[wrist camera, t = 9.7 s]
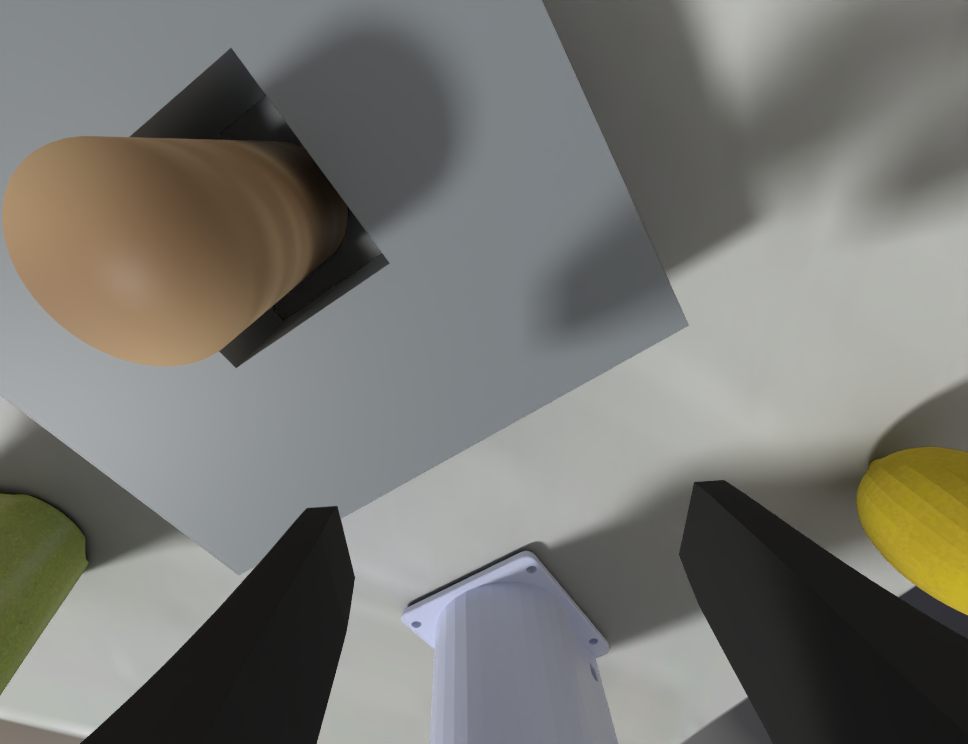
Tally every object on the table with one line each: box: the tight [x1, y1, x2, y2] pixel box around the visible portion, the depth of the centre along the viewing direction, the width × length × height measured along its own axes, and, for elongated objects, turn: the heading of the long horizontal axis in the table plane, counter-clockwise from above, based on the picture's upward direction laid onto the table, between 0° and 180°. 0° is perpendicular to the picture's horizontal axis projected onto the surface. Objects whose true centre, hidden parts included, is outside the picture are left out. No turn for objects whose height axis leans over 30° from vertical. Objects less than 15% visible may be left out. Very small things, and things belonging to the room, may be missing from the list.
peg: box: [2, 136, 348, 366], centre depth 12 cm, size 4×4×8 cm
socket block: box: [0, 0, 689, 575], centre depth 13 cm, size 18×18×4 cm
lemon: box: [856, 447, 968, 615], centre depth 18 cm, size 6×6×8 cm
